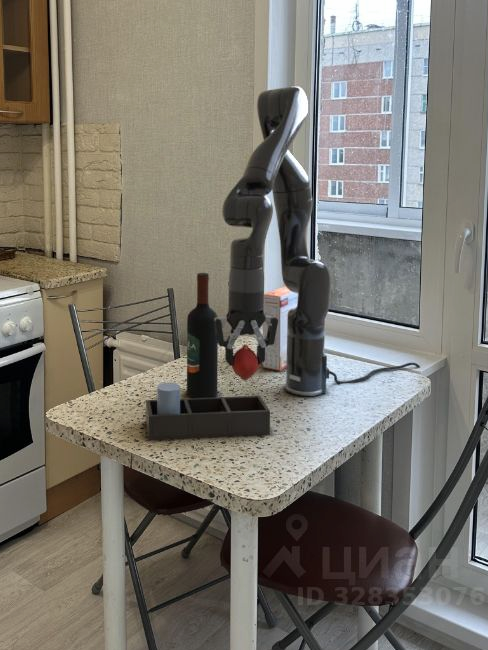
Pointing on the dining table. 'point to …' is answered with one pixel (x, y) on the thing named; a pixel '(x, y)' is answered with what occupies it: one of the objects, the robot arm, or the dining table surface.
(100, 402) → the dining table surface
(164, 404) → the light blue cylinder
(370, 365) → the dining table surface
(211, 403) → the holder
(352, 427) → the dining table surface
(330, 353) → the dining table surface
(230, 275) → the robot arm
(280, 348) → the cracker box
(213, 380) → the wine bottle
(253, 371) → the onion
